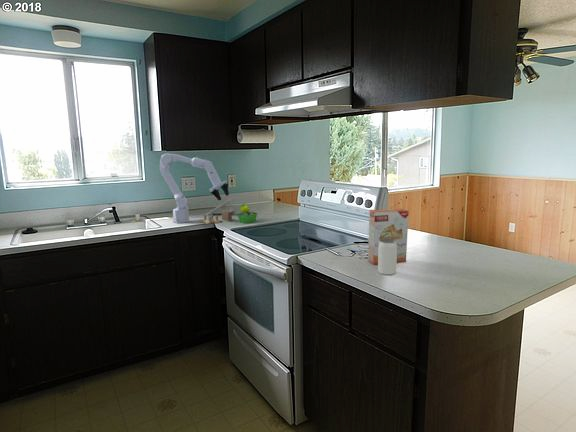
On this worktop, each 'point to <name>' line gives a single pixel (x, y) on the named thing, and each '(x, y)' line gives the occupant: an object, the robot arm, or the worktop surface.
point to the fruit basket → (246, 215)
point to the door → (226, 215)
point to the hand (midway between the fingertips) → (223, 197)
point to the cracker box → (388, 231)
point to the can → (387, 256)
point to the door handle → (221, 207)
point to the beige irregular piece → (211, 220)
